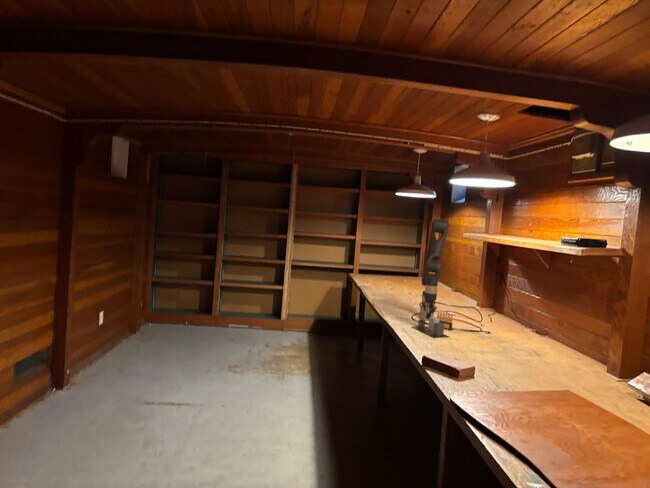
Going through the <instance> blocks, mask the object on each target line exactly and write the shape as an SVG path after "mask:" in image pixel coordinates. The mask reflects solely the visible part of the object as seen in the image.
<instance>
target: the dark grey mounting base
mask: <svg viewBox="0 0 650 488" xmlns="http://www.w3.org/2000/svg"><path fill="white" fill-rule="evenodd" d="M428 326H429V322H428V321H427V322H426V320H424V319H418V320H417V326H411V328H412V329H414V330H416V331H418V332H420V333H422V334H424V335H426V336H429V337H430V338H433V339H437V338H438V339H439V338H440V339H441V338H442V339H443V338H450V336H449V335H446V334H444V330H445V329H444V324H443V323H435V324H434V331H432V330H430V329H428Z"/></svg>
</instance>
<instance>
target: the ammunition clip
mask: <svg viewBox="0 0 650 488" xmlns="http://www.w3.org/2000/svg"><path fill="white" fill-rule="evenodd" d="M436 318H438V319H440V321H439V323H443V324H444V330H445V331H449V332H451V331H453V322H454V313H453V312H451V311H449V312H448V311H445V310H444V311H443V310H442V309H441V310H437V315H436Z"/></svg>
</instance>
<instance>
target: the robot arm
mask: <svg viewBox="0 0 650 488" xmlns="http://www.w3.org/2000/svg"><path fill="white" fill-rule="evenodd" d="M449 225H450V223H449V220H446V219H440V218H433V219H432V220H431V226H430V233H429V241H428V247H427V251H426V256H425V257H426V258H425V264H424V269H423V273H422V277H421V285H422V286H424V287H425V288H424V290H423V291H422V296H421V304H420V309H419V318H420V319H419V320H421V319H424V320H425V321H427V322H429V317H435V314H434V313H435V312H436V311H437V309H438V306H436V301H437V296H438V285H439V284H438V283H439V278H440V274H441V272H442V269H443V264H442V262H441V261H440V260H441V258H442V253H443V247H444V243H445V241H446V238H447V235H448V231H449V228H450V227H449ZM436 233H437V234H441V235H440V237H439V238H438V239H437V237H436V236H437V235H436Z"/></svg>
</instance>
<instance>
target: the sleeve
mask: <svg viewBox="0 0 650 488" xmlns="http://www.w3.org/2000/svg"><path fill="white" fill-rule="evenodd" d="M439 321H440V318H439V319H438V318H437V316H433V317H429V321H428V323H429V326H428V325H427V327H428V329H430V330H432V331H434V324H435V323H439Z"/></svg>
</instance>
